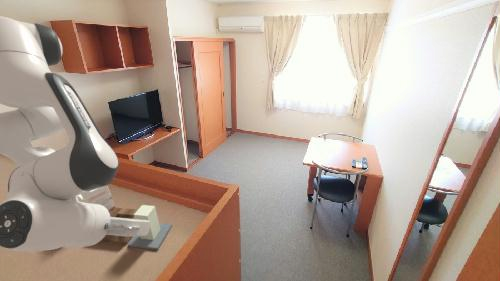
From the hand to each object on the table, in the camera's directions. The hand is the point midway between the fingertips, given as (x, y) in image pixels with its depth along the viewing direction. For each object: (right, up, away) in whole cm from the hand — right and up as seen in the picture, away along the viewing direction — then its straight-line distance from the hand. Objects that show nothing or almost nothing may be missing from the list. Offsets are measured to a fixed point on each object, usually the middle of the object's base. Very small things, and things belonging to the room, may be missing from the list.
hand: (125, 224), depth 63 cm
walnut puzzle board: (-10, -7, +17) cm, 21 cm away
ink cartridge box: (-21, -5, +22) cm, 31 cm away
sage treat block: (+1, -8, +14) cm, 16 cm away
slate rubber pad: (+1, -9, +14) cm, 16 cm away
